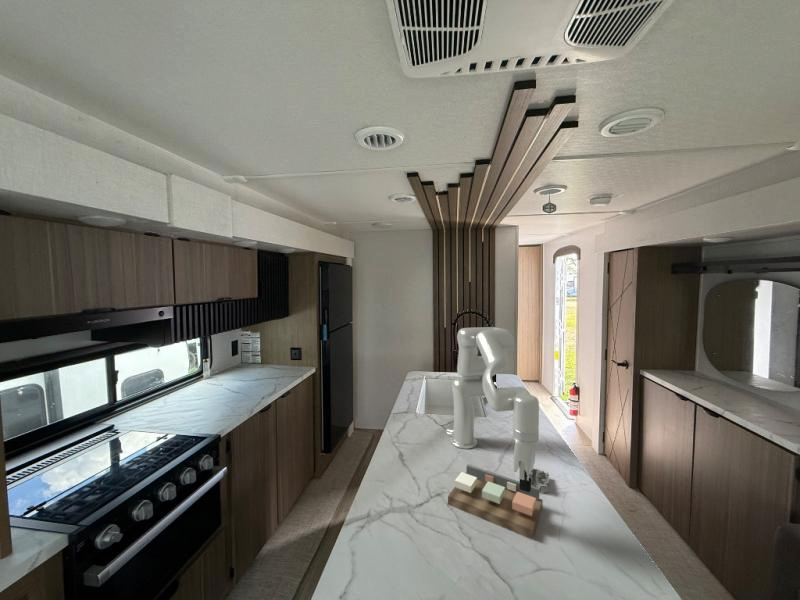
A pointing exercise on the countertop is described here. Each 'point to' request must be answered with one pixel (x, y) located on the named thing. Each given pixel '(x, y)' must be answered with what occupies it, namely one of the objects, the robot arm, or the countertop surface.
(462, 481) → the key cream
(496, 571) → the countertop surface
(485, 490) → the key sage
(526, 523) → the keypad
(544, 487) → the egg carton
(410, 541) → the countertop surface
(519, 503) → the key terracotta
